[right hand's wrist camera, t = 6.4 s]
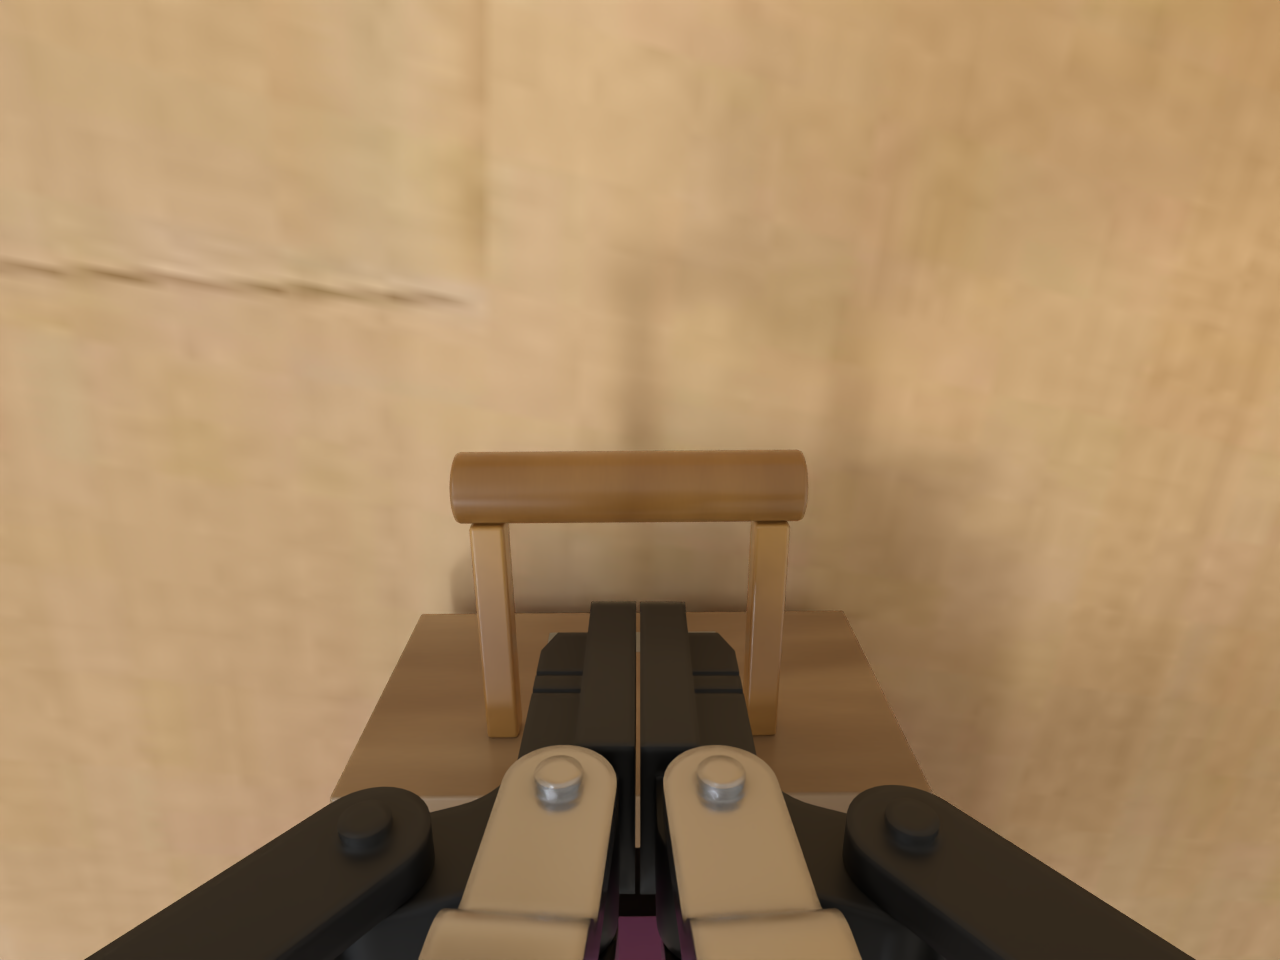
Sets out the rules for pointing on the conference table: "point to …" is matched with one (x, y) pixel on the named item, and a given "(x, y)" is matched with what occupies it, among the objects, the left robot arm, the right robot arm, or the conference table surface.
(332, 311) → the conference table surface
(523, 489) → the drawer
